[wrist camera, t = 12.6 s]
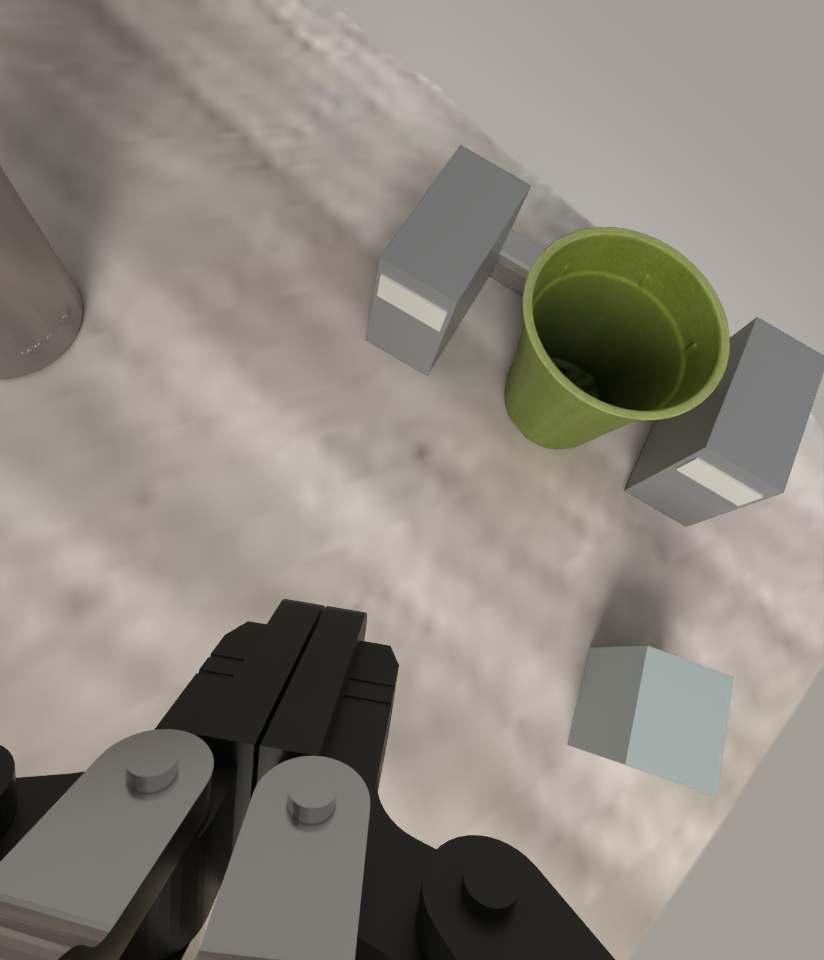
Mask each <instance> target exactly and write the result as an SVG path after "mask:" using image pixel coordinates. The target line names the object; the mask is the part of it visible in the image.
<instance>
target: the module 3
mask: <svg viewBox="0 0 824 960" xmlns="http://www.w3.org/2000/svg"><path fill="white" fill-rule="evenodd" d="M732 684H733V676H730V675H727V674H724V673H722V672H719V671H716V670H713V669H711V668H708V667H705V666H702V665H700V664H697V663H694V662H692V661H689V660H686V659H683V658H681V657H678V656H675V655H672V654H670V653H667V652H664V651H661V650H659V649H656V648H653V647H651V646H648V645H647V646H620V647H594V648H589V651H588V655H587V660H586V664H585V669H584V673H583V678H582V682H581V687H580V691H579V696H578V700H577V705H576V709H575V714H574V718H573V723H572V727H571V732H570V736H569V741H568V745H569V746H572V747H575V748H578V749H581V750H583V751H586V752H589V753H592V754H595V755H598V756H600V757H603V758H606V759H609V760H612V761H615V762H617V763H620V764H623V765H626V766H629V767H631V768H634V769H637V770H640V771H643V772H646V773H649V774H652V775H654V776H657V777H660V778H663V779H666V780H669V781H672V782H675V783H678V784H681V785H684V786H686V787H689V788H692V789H695V790H698V791H701V792H704V793H707V794H710V795H713V796H716V797H717V793H718V786H719V778H720V771H721V764H722V757H723V749H724V742H725V735H726V728H727V720H728V713H729V706H730V699H731V691H732Z"/></svg>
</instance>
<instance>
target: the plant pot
mask: <svg viewBox="0 0 824 960" xmlns="http://www.w3.org/2000/svg"><path fill="white" fill-rule="evenodd" d="M522 306H523V319H524V321H523V333H522V336H521V339H520V343H519V346H518V349H517V352H516V356H515V359H514V362H513V365H512V368H511V372H510V375H509V378H508V382H507V385H506V389H505V403H506V408H507V412H508V414H509V417H510V419H511V421H512V422H513V423H514V424H515V425H516V426H517V427H518V428H519V429H520V431H521V432H522V433H523V434H524V435H525V437H526V438H528V439H529V440H531V441H532V442H534V443H536V444H538V445H541V446H543V447H547V448H551V449H568V448H572V447H576V446H578V445H581V444H583V443H585V442H588V441H590V440H592V439H595V438H597V437H599V436H601V435H603V434H606V433H608V432H610V431H613V430H615V429H617V428H619V427H622V426H624V425H626V424H629V423H631V422H637V421H641V420H659V419H665V418H670V417H674V416H678V415H680V414H683V413H685V412H687V411H689V410H691V409H693V408H694V407H696V406H697V405H699V404H700V403H702V402H703V401H704V400H705V399H706V398H707V397H708V396H709V395H710V394H711V393H712V392H713V391H714V389H715V388H716V386H717V385H718V384H719V382H720V380H721V378H722V377H723V374H724V372H725V369H726V366H727V362H728V358H729V349H730V338H729V330H728V322H727V319H726V316H725V312H724V309H723V307H722V305H721V302H720V300H719V298H718V296H717V294H716V292H715V291H714V289H713V287H712V286H711V285H710V283H709V282H708V280H707V279H706V278H705V277H704V275H703V274H702V273H701V272H700V271H699V270H698V268H697V267H696V266H695V265H694V264H693V263H692V262H690V261H689V260H688V259H687V258H686V257H685V256H684V255H682V254H681V253H680V252H678V251H677V250H675V249H674V248H672V247H671V246H669V245H667V244H665V243H663V242H662V241H660V240H658V239H656V238H653V237H650V236H648V235H646V234H643V233H640V232H636V231H632V230H628V229H624V228H617V227H607V228H603V227H598V228H589V229H584V230H580V231H576V232H573V233H571V234H568V235H566V236H564V237H562V238H560V239H558V240H557V241H555V242H553V243H552V244H551V245H550V246H548V247H547V248H546V249H545V250H544V251H543V252H542V253H541V255H540V256H539V257H538V258H537V259H536V261H535V262H534V264H533V265H532V267H531V269H530V271H529V274H528V276H527V279H526V282H525V286H524V291H523V299H522ZM557 367H558V368H562V369H565V370H566V373H565V374H562V373H561V371H560V370H559V369H558V368H557Z"/></svg>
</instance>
